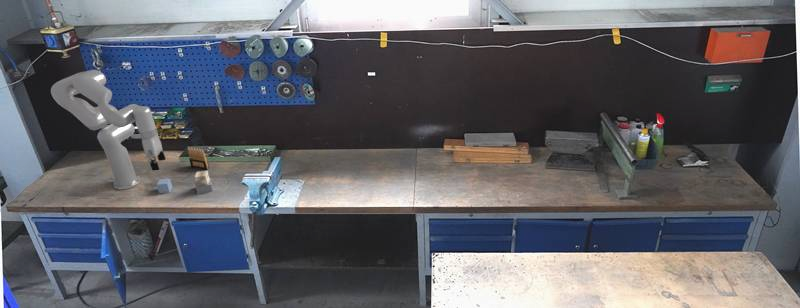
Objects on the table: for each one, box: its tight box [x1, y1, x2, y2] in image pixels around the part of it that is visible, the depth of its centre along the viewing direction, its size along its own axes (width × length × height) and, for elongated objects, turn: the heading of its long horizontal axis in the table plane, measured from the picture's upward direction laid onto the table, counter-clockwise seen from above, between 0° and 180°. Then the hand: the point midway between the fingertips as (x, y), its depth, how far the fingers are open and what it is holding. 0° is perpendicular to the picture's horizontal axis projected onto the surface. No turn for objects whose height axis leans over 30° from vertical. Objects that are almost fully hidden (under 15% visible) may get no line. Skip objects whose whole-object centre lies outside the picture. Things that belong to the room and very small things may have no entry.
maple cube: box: [194, 170, 210, 186], centre depth 266 cm, size 5×5×5 cm
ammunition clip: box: [187, 146, 210, 171], centre depth 285 cm, size 11×2×12 cm, turn 68°
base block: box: [195, 177, 213, 195], centre depth 268 cm, size 7×7×4 cm
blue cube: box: [156, 178, 173, 194], centre depth 269 cm, size 5×5×5 cm
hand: (159, 164), depth 263 cm, fingers open, 9 cm apart
